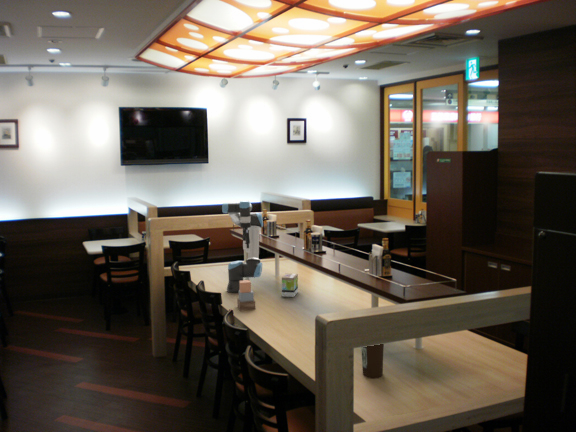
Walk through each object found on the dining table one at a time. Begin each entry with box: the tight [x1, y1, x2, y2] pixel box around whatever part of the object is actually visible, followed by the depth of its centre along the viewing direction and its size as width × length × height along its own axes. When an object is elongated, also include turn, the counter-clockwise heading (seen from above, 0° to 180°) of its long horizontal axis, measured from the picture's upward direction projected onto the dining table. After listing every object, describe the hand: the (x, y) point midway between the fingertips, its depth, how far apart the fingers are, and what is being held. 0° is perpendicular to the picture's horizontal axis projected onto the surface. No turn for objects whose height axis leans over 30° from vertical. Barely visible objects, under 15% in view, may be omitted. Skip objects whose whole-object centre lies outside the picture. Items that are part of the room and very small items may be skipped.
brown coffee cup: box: [360, 344, 385, 379], centre depth 244 cm, size 11×11×25 cm
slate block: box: [238, 289, 255, 302], centre depth 361 cm, size 9×9×6 cm
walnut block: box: [236, 297, 256, 312], centre depth 362 cm, size 11×11×6 cm
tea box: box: [281, 273, 299, 298], centre depth 394 cm, size 15×10×15 cm, turn 168°
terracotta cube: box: [239, 279, 252, 293], centre depth 361 cm, size 7×7×7 cm
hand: (246, 250), depth 379 cm, fingers open, 13 cm apart
